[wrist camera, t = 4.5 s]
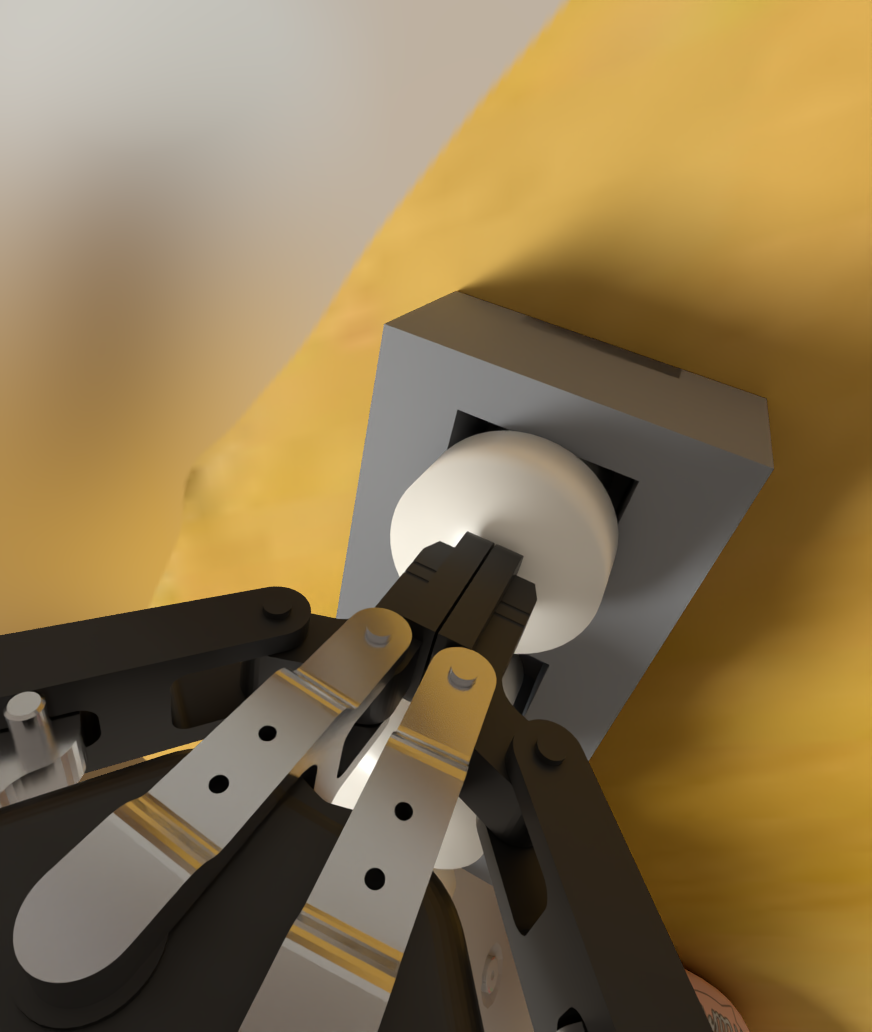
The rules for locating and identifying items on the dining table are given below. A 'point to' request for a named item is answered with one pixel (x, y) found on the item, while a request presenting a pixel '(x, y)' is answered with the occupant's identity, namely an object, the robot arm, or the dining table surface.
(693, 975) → the mug
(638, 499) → the mount
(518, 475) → the knob
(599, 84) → the dining table surface
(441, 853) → the knob
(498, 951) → the rounded white slab
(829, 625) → the dining table surface
